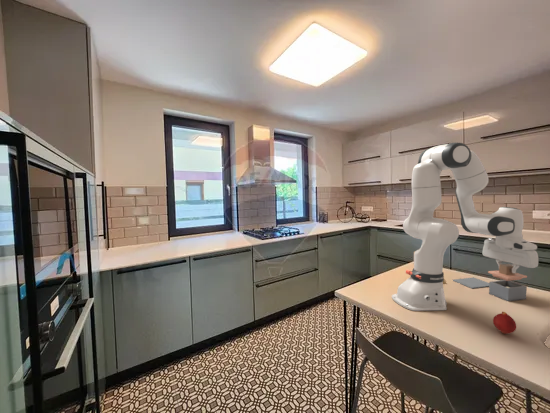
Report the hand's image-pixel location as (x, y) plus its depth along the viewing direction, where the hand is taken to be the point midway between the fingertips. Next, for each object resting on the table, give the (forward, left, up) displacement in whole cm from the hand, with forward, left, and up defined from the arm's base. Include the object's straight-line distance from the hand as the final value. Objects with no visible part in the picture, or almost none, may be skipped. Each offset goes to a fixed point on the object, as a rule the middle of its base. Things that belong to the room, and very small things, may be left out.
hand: (507, 271), depth 108 cm
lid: (0, 0, -3) cm, 3 cm away
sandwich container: (-17, +26, -13) cm, 33 cm away
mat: (0, +16, -12) cm, 20 cm away
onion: (-32, -22, -12) cm, 41 cm away
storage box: (0, 0, -12) cm, 12 cm away
